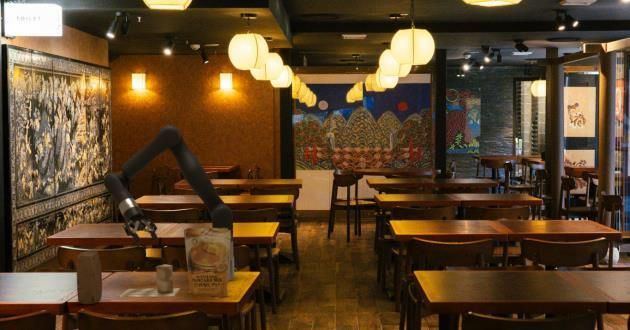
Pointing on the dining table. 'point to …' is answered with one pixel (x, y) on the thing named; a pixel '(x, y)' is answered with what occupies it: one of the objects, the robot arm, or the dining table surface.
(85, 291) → the block
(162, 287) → the tan tall block
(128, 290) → the birch board
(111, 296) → the dining table surface
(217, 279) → the pancake mix bag
